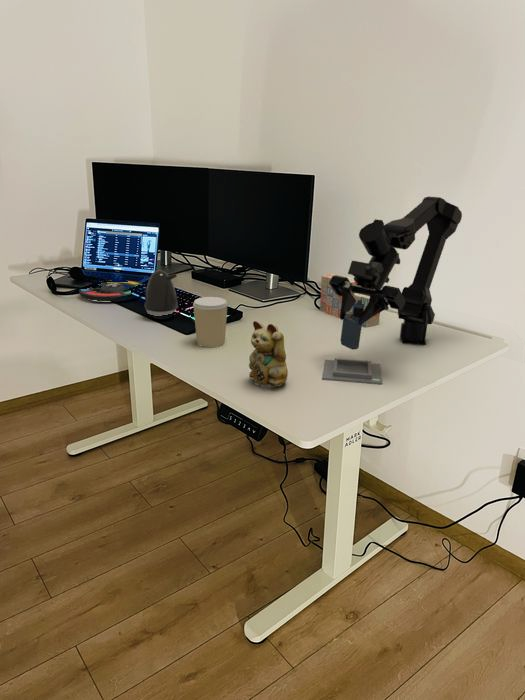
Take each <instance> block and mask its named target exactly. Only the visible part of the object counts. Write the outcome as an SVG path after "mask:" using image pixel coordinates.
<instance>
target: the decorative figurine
mask: <svg viewBox="0 0 525 700" xmlns="http://www.w3.org/2000/svg"><path fill="white" fill-rule="evenodd" d="M252 325H253V328H254V331H253V332H252V336H251V338H250V343H251V345H252V347H253V348H255V349H254V350H252V352H251V353H250V354H249V359H248V360H249V363H248V368H249V369H250V370H251V371H250V372H249V373H248V376H249V378H250V379H253V380H254V384H255V385H258V386H260V387H263V388H266V389H268V390H271V389H273V388H275V387H279V386H281V385H284V384H285V382H286V381H287V380H288V375H289V374H288V373H289V372H288V368H287V362H286V361H287V360H286V359H287V354H286V351H285V339H284V338H285V337H284V334H283V333H282V332H281V331H279V328H278V326H277V325H276V324H275V323H269V324H267V326H265V325H264V324H263V323H262V322H261V321H258V320H254V321H253V322H252Z"/></svg>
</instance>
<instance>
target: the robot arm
mask: <svg viewBox="0 0 525 700" xmlns="http://www.w3.org/2000/svg"><path fill="white" fill-rule="evenodd" d="M462 217H463V213H462V211H461V210H460V209H459V207H458V206H456V205H455V204H452V203H450V202H448V201H446V200H445V198H443V197H438V196H426V197H423V199H422V201H421V202H419V204H418V205H416V206H415V207H414V208H413V209H412V210H410V212H408V213H407V214H406V215H404V216H403V217H402V218H399V219H394V220H391V221H389V222H387V223H384V221H383V219H375V218H374V220H373V222H370V223H367V224H366V225H365V226H363V227H362V228H361V229H360V230H359V233H358V239H360V242H361V243H362V245H363V247H364V249H365V250H366V252H367V254H368V255H369V256H370V257H371V258H370V259H369V262H363V261H357V260H351V263H350V265H349V268H348V270H347V271H348V272H347V274H348V275H351V276H353V278H354V281H355V282H357V285H354V284H352V283H350V281H349V280H348V278H347V277H348V276H346V277H343V276H344V275H342V276H338V275H335V276H332V278H331V279H330V281H329V284H330V286H331V287H332V289H333V290H334V292H335V293H336V294H337V295H338V296H342V304H341V311H340V318H339V319H340V320H341V321H343V319H344V316H346V312H349V311H350V310H351V308H352V307H353V305H354V304H355V303H356V300H355V298H354V297H353V296H354V294H355V293H358V294H362V295H367V296H370V299H369V303H368V304H367V306H366V308H365V310H364V312H363V313H362V315H361V317H360V319H359V322H358V323H359V324H360V325H362V324H363V323H364V322H366V321H367V320H369V319H370V318H372V317H373V316H375V315H376V314H378V313H380V314H381V312H383V311H388V310H389V309H390V308H391V309H394V310H397V316H398V319H400V320H403V322H401V324H400V331H399V338H400V340H401V343H402V344H406V345H407V344H409V345H421V346H422V345H427V342H426V338H427V337H426V336H427V329H428V325H432V324H433V323H434V320H435V316H436V313H435V311H434V310H433V308H432V301H433V298H432V295H431V290H430V289H431V286H432V282H433V279H434V276H435V273H436V271H437V267H438V265H439V261H440V260H441V255H442V252H443V250H444V247H445V244H446V242H447V240H448V238H450V237H451V236H452V235H453V234H455V232H456V230H457V229H458V226H459V225H460V223H461V222H462ZM425 225H426V228H427V231H428V236H427V239H426V242H425V245H424V247H423V251H422V254H421V256H420V260H419V262H418V266H417V269H416V272H415V275H414V277H413V281H412V283H410V285H408V287H407V286H405V287H403V289H402V291H401V289H400V288H399V287H396V286H392V285H385V283H386V284H389V282H390V280H391V279H390V277H389V275H390V274H391V272H392V271H393V268H394V267H395V265H401V258H400V253H399V252H398V251H397V249H398V250H407V249H409V248H410V247H411V245H413V243H414V242H415V241H416V234H417V232H418V231H419V230H421V229H422V228H423V227H424V226H425Z"/></svg>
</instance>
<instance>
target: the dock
mask: <svg viewBox="0 0 525 700" xmlns="http://www.w3.org/2000/svg"><path fill="white" fill-rule="evenodd" d="M321 380H325V381H336V382H346V383H348V382H349V383H357V384H358V383H359V384H360V383H361V384H373V385H383V377H382V366H381V364H380V363H372V360H363V359H362V360H361V359H350V358H349V359H346V358H335V357H334V359H324V364H323V370H322V377H321Z"/></svg>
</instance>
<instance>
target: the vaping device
mask: <svg viewBox="0 0 525 700" xmlns="http://www.w3.org/2000/svg"><path fill="white" fill-rule="evenodd" d="M363 312H364V304H362V300H358V302H357V303H355V304H354V311H353V312H346V316H344V319H343V320H342V325H341V334H340V345H342V346H344V347H345V348H348V349H349V350H351V351H352V350H353V351H354V350H358V349H360V348H359V347H360V342H361V341H360V340H361V334H362V333H361V332H362V327H363V326H362V325H360V324H359V323H358V322H359V319H360V317H361V315H362V313H363Z"/></svg>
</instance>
